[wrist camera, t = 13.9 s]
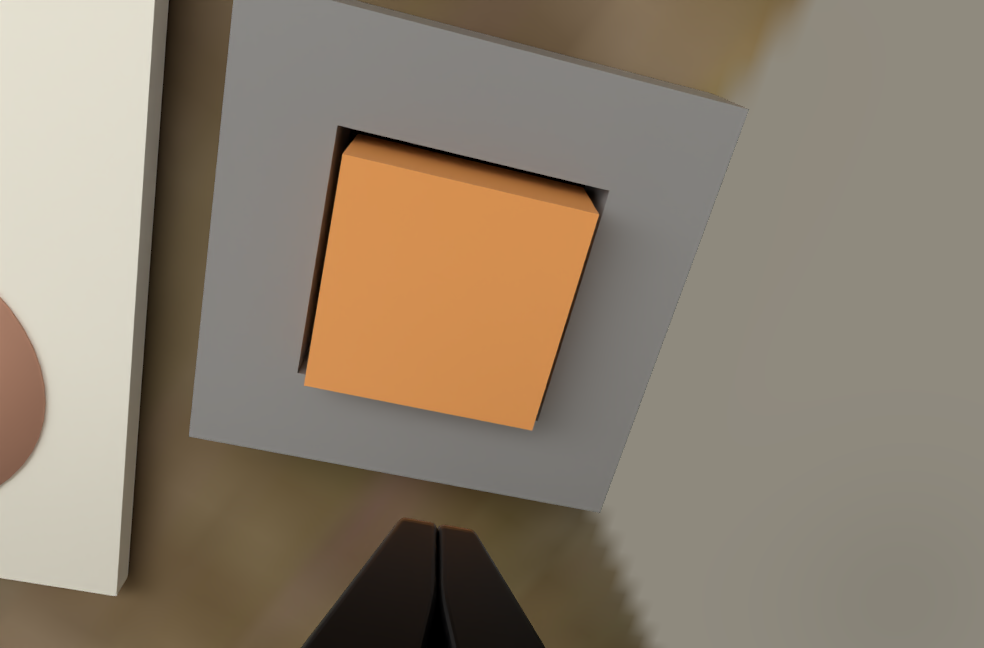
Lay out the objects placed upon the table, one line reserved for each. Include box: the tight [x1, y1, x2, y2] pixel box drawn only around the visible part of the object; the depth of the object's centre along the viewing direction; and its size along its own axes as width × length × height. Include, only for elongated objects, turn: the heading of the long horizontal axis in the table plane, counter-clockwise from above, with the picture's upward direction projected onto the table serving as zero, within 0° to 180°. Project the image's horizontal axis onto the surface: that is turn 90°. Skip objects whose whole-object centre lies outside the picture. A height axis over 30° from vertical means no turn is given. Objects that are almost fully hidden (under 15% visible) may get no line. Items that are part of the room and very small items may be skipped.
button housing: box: [189, 0, 749, 513], centre depth 17 cm, size 10×10×2 cm
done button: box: [304, 134, 599, 430], centre depth 16 cm, size 5×5×2 cm
